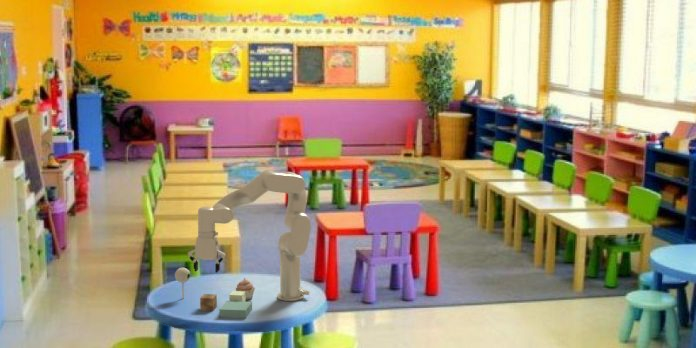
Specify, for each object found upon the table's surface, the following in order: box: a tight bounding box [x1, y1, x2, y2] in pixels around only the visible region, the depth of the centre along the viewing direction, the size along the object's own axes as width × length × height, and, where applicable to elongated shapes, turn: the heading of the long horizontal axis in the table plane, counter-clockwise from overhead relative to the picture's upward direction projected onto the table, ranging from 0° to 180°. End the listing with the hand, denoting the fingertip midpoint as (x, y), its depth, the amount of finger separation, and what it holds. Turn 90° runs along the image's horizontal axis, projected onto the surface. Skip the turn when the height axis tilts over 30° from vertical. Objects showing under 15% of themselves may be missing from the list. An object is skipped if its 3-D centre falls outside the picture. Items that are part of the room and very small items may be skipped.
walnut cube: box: [199, 293, 218, 312], centre depth 404 cm, size 6×6×6 cm
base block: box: [219, 300, 253, 319], centre depth 397 cm, size 12×12×4 cm
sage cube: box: [229, 290, 246, 302], centre depth 408 cm, size 6×6×6 cm
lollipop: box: [174, 267, 191, 300], centre depth 417 cm, size 7×7×15 cm
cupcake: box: [234, 277, 256, 301], centre depth 418 cm, size 9×9×10 cm
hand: (206, 271), depth 401 cm, fingers open, 9 cm apart
